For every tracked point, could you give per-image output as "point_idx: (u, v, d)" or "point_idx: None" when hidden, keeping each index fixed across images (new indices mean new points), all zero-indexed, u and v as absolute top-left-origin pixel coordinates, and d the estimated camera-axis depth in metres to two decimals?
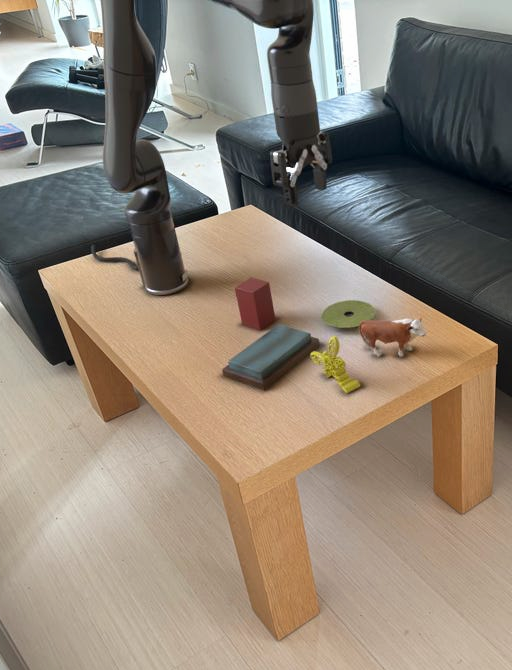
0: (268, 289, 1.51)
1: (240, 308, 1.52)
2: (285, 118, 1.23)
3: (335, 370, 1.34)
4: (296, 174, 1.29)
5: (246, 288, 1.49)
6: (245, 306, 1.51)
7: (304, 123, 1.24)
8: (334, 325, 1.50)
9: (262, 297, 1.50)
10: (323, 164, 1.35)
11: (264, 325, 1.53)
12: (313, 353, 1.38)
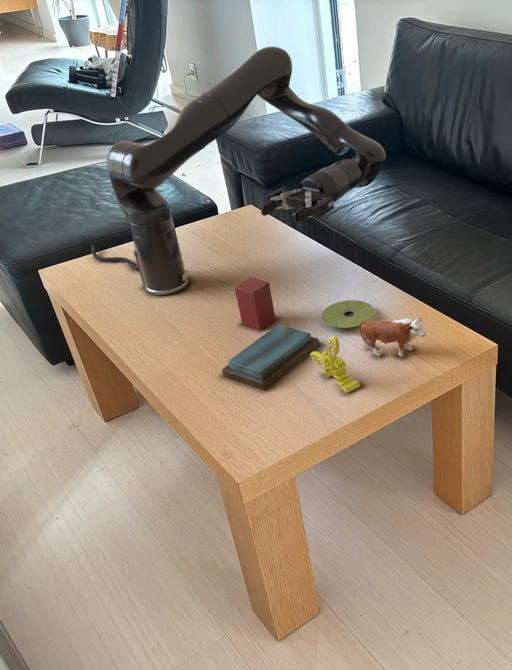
0: (268, 289, 1.51)
1: (240, 308, 1.52)
2: None
3: (335, 370, 1.34)
4: (281, 196, 1.56)
5: (246, 288, 1.49)
6: (245, 306, 1.51)
7: None
8: (334, 325, 1.50)
9: (262, 297, 1.50)
10: (308, 204, 1.53)
11: (264, 325, 1.53)
12: (313, 353, 1.38)
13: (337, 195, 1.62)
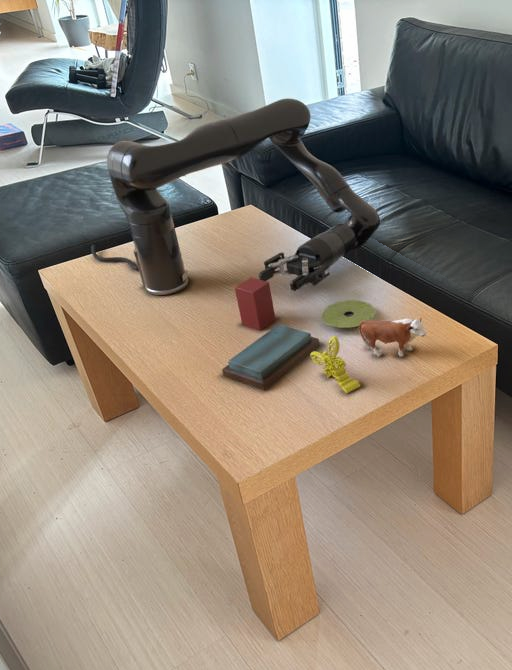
0: (268, 289, 1.51)
1: (240, 308, 1.52)
2: None
3: (335, 370, 1.34)
4: (278, 262, 1.62)
5: (246, 288, 1.49)
6: (245, 306, 1.51)
7: (307, 241, 1.66)
8: (334, 325, 1.50)
9: (262, 297, 1.50)
10: (305, 272, 1.58)
11: (264, 325, 1.53)
12: (313, 353, 1.38)
13: (332, 260, 1.67)
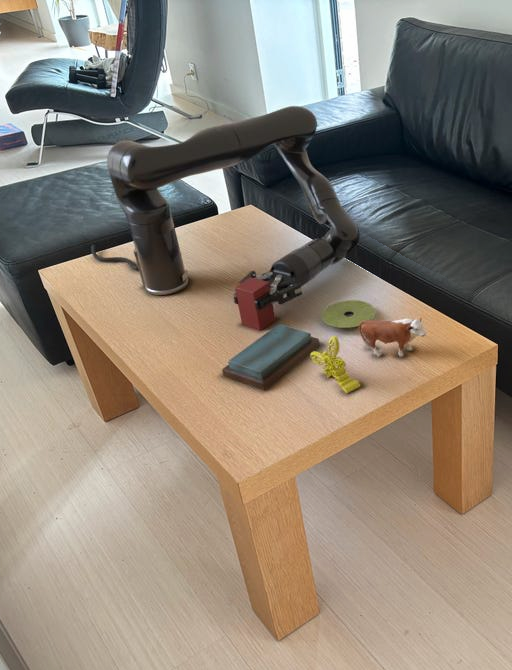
0: (268, 289, 1.51)
1: (240, 308, 1.52)
2: None
3: (335, 370, 1.34)
4: None
5: (246, 288, 1.49)
6: (245, 306, 1.51)
7: (282, 257, 1.60)
8: (334, 325, 1.50)
9: None
10: (271, 290, 1.52)
11: (264, 325, 1.53)
12: (313, 353, 1.38)
13: (309, 277, 1.61)
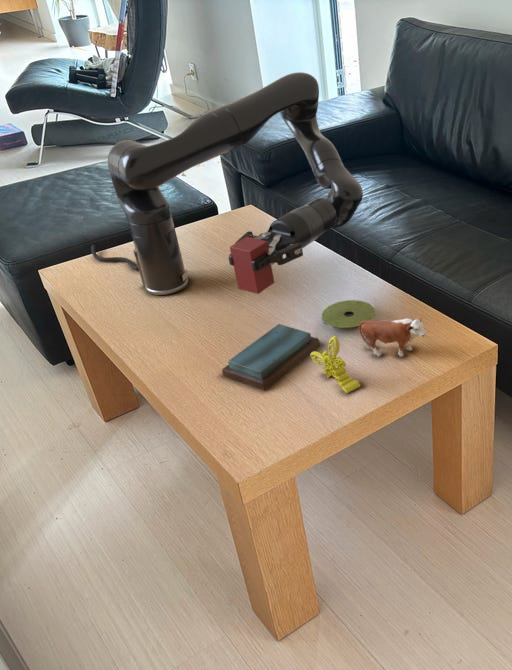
0: (266, 249, 1.40)
1: (236, 270, 1.40)
2: None
3: (335, 370, 1.34)
4: None
5: (243, 248, 1.37)
6: (241, 267, 1.39)
7: None
8: (334, 325, 1.50)
9: None
10: (269, 250, 1.40)
11: (262, 288, 1.42)
12: (313, 353, 1.38)
13: (310, 238, 1.49)
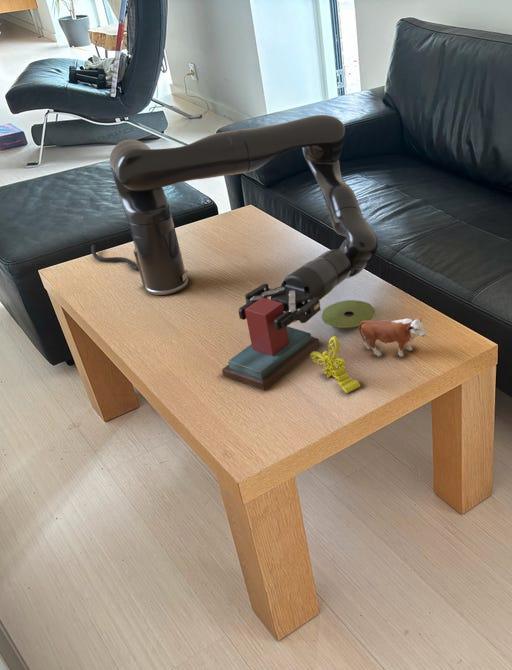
0: (281, 311, 1.37)
1: (250, 331, 1.38)
2: None
3: (335, 370, 1.34)
4: (262, 296, 1.41)
5: (258, 310, 1.35)
6: (256, 329, 1.37)
7: None
8: (334, 325, 1.50)
9: None
10: (292, 308, 1.37)
11: (277, 350, 1.39)
12: (313, 353, 1.38)
13: (324, 292, 1.46)
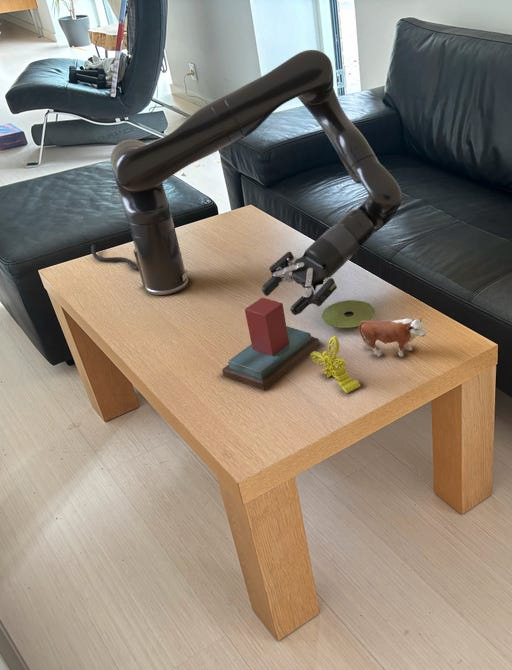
0: (281, 311, 1.37)
1: (250, 331, 1.38)
2: None
3: (335, 370, 1.34)
4: (283, 271, 1.51)
5: (258, 310, 1.35)
6: (256, 329, 1.37)
7: (315, 241, 1.52)
8: (334, 325, 1.50)
9: (275, 319, 1.37)
10: (307, 292, 1.47)
11: (277, 350, 1.39)
12: (313, 353, 1.38)
13: (343, 263, 1.53)
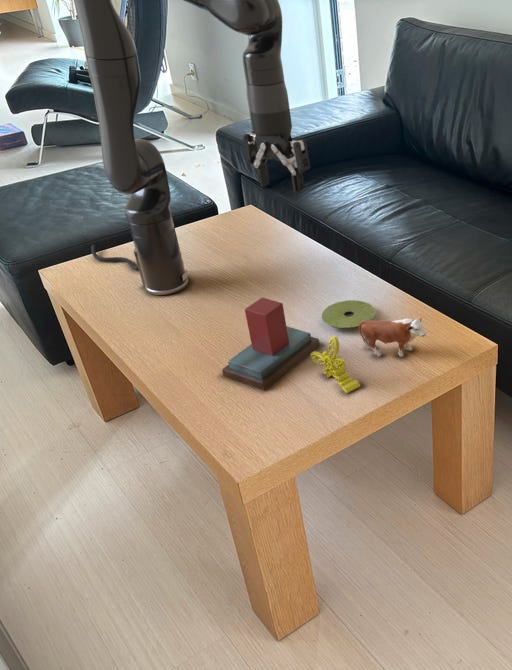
0: (281, 311, 1.37)
1: (250, 331, 1.38)
2: None
3: (335, 370, 1.34)
4: (258, 159, 1.45)
5: (258, 310, 1.35)
6: (256, 329, 1.37)
7: (251, 118, 1.38)
8: (334, 325, 1.50)
9: (275, 319, 1.37)
10: (291, 169, 1.42)
11: (277, 350, 1.39)
12: (313, 353, 1.38)
13: (288, 109, 1.38)
